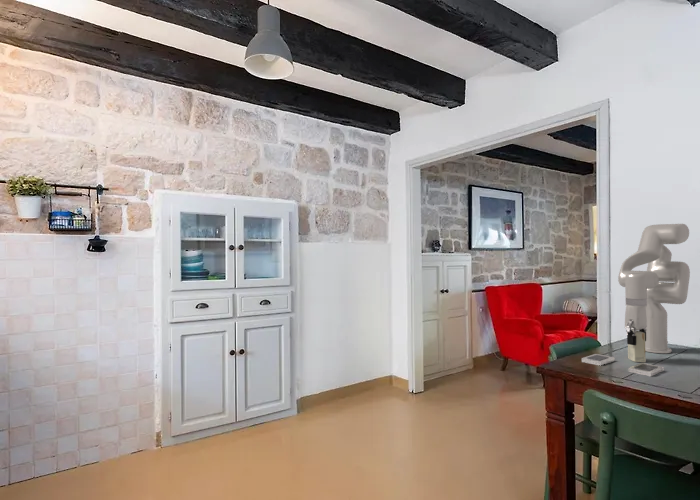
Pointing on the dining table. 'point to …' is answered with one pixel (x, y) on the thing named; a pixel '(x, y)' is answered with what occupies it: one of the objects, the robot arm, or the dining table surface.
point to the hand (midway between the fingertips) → (636, 342)
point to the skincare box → (637, 348)
